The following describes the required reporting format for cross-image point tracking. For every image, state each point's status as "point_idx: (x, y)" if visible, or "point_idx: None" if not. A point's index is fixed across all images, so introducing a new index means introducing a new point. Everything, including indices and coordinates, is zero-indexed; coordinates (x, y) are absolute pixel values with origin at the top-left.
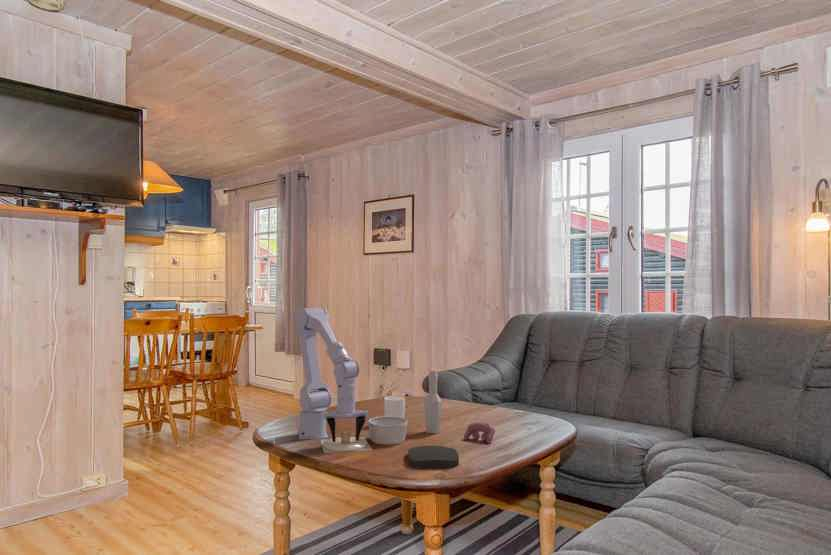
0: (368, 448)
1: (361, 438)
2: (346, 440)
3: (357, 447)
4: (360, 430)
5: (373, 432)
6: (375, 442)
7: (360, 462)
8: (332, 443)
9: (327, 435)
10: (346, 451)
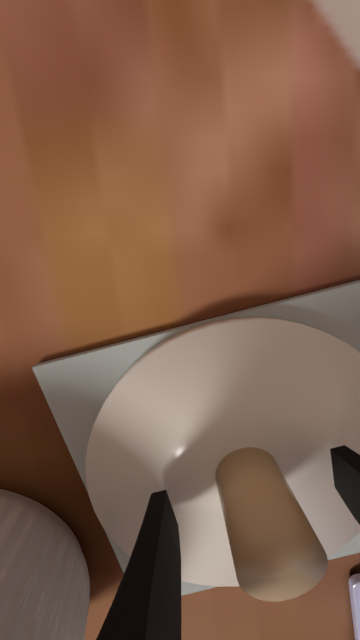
0: (67, 394)
1: None
2: (246, 471)
3: (142, 363)
4: (112, 612)
5: (4, 617)
6: (40, 513)
7: (71, 28)
8: None
9: (356, 608)
10: (223, 317)
